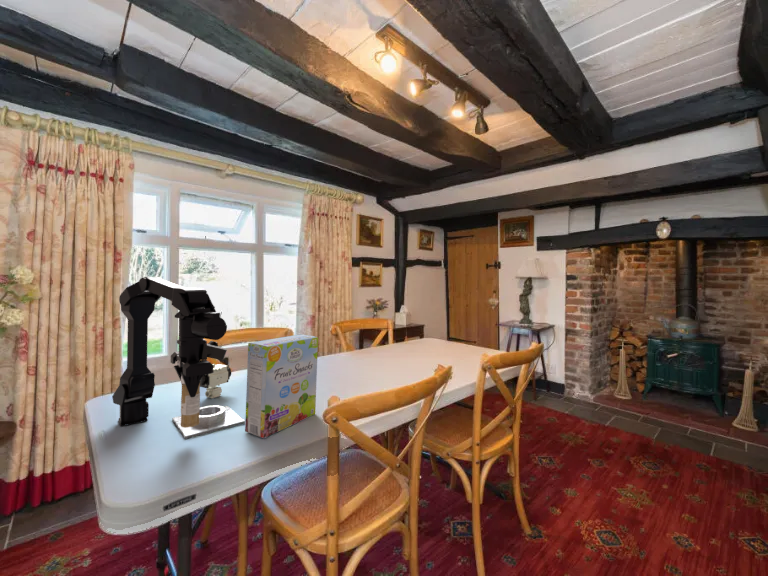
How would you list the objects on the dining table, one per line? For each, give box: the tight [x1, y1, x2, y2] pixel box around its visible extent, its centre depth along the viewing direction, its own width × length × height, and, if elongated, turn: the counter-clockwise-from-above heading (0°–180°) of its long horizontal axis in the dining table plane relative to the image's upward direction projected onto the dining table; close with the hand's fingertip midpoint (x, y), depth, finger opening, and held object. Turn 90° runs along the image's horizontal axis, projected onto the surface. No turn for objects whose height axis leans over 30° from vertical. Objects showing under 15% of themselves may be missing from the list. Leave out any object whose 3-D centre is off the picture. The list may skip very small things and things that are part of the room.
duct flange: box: [172, 405, 245, 440], centre depth 105 cm, size 16×16×3 cm
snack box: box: [244, 333, 319, 439], centre depth 105 cm, size 22×9×26 cm, turn 151°
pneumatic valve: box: [200, 363, 232, 399], centre depth 127 cm, size 6×12×12 cm, turn 152°
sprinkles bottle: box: [180, 376, 201, 428], centre depth 92 cm, size 5×5×14 cm
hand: (190, 394), depth 92 cm, fingers closed on sprinkles bottle, 4 cm apart
